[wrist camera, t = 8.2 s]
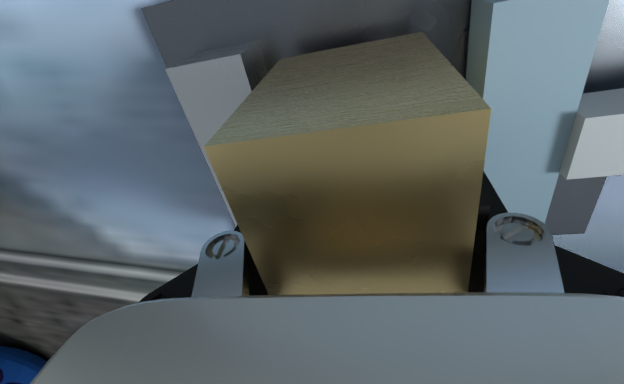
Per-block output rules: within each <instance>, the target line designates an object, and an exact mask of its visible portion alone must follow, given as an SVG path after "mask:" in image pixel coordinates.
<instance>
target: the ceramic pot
mask: <svg viewBox="0 0 624 384" xmlns="http://www.w3.org/2000/svg"><path fill="white" fill-rule="evenodd" d="M46 362H47V361H46V360H44V359H43V358H41V357H39V356H37V355H35V354H33V353H31V352H28V351H25V350H21V349H17V348H11V347H5V346H0V384H30V382H31V381H32V380H33V379H34V378H35V376H36V375H37V374H38V373H39V371H40V370H41V369H42V368H43V366H44V365H45V364H46Z"/></svg>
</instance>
